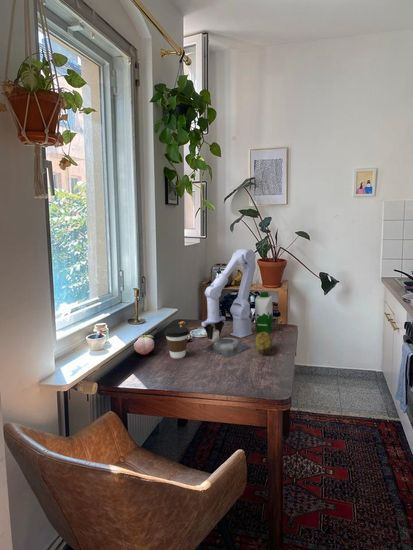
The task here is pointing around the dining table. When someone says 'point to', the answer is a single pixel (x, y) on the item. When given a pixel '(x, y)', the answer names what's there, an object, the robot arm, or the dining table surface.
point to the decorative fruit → (144, 344)
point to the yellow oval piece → (263, 343)
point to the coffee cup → (177, 341)
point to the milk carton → (263, 312)
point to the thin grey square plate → (226, 347)
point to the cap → (214, 335)
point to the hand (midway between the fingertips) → (214, 337)
